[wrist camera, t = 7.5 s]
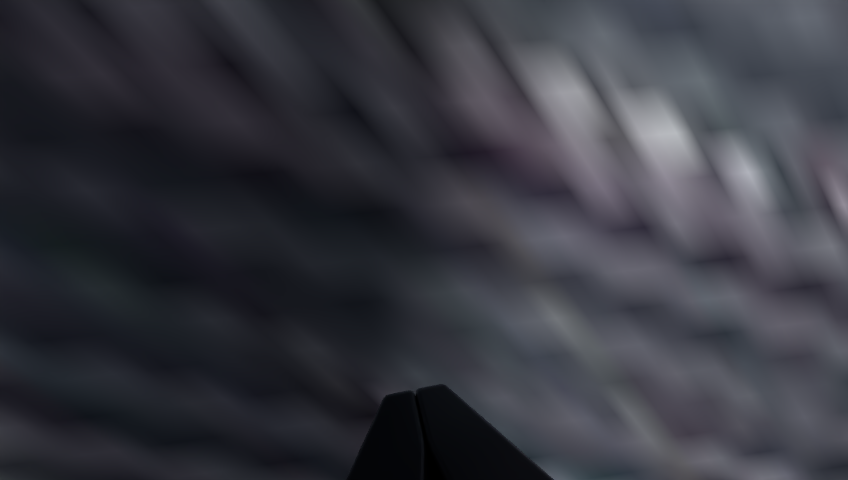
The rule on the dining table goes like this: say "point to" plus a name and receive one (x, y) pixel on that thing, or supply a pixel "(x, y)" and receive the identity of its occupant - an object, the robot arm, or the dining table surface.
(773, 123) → the dining table surface
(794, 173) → the dining table surface
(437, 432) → the robot arm
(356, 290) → the dining table surface
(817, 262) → the dining table surface
